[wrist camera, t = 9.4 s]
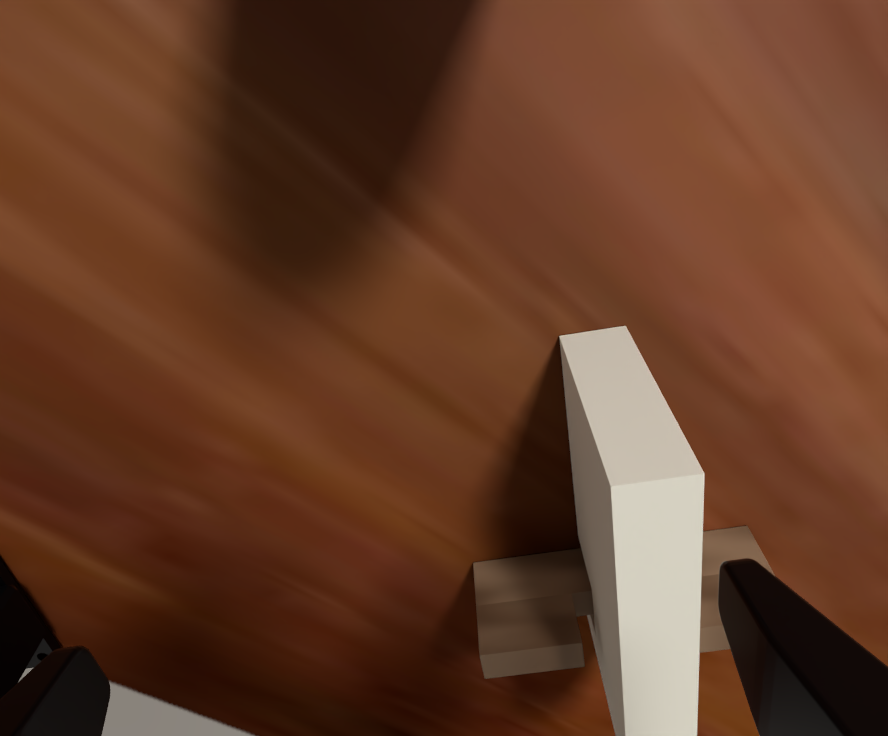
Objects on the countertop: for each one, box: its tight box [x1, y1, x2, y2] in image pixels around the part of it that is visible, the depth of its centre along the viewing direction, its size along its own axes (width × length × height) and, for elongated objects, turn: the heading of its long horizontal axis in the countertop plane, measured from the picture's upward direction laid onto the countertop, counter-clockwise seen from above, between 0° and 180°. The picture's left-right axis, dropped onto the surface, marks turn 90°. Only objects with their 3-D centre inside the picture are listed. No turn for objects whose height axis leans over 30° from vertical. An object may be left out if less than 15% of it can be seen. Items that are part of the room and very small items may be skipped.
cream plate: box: [559, 326, 704, 736], centre depth 21 cm, size 12×2×7 cm, turn 9°
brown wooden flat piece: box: [473, 526, 775, 679], centre depth 24 cm, size 10×1×4 cm, turn 100°
